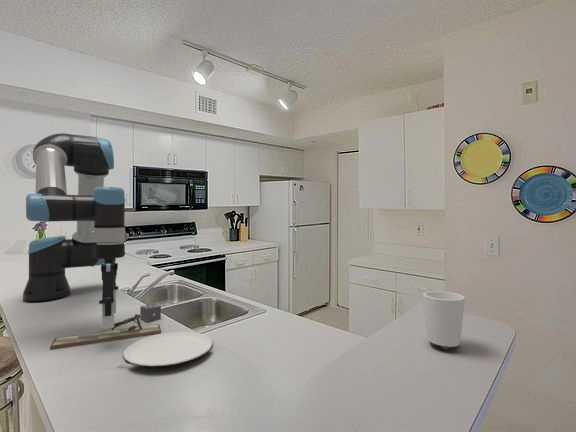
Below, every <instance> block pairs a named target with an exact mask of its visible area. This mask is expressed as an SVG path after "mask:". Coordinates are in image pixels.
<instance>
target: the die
mask: <svg viewBox="0 0 576 432" xmlns="http://www.w3.org/2000/svg"><path fill="white" fill-rule="evenodd" d="M139 309H140V310H139V311H140V314H139V315H142V317H140V318H139V321H142V322H144V323H146V324H148V323H152V322H155V321H158V320H161V318H162V317H161V316H162V313H161V312H162V308H161V305H159V304H156V303H151V304H146V305H141V306H140V307H139Z"/></svg>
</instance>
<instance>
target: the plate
mask: <svg viewBox="0 0 576 432" xmlns="http://www.w3.org/2000/svg"><path fill="white" fill-rule="evenodd" d="M212 346H213V341H212V339H211V337H209V336H208V335H206V334H204V333H201V332H194V331H193V332H192V331H171V332H163V333H160V334H153V335H149V336H147V337H144V338H142V339H138V340H136V341H135V342H133V343H132V344H130V345H128V347H127V348H126V349H125V350H124V352H123V357H124V360H125V361H127V362H128V363H129V364H131V365H134V366H139V367H147V368H158V367H163V368H164V367H168V366H175V365H181V364H185V363H188V362H191V361H194V360H196V359H198V358H200V357H202V356H204V355H206V354H207V353H208V352H209V351H210V350H211V349H212Z"/></svg>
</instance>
